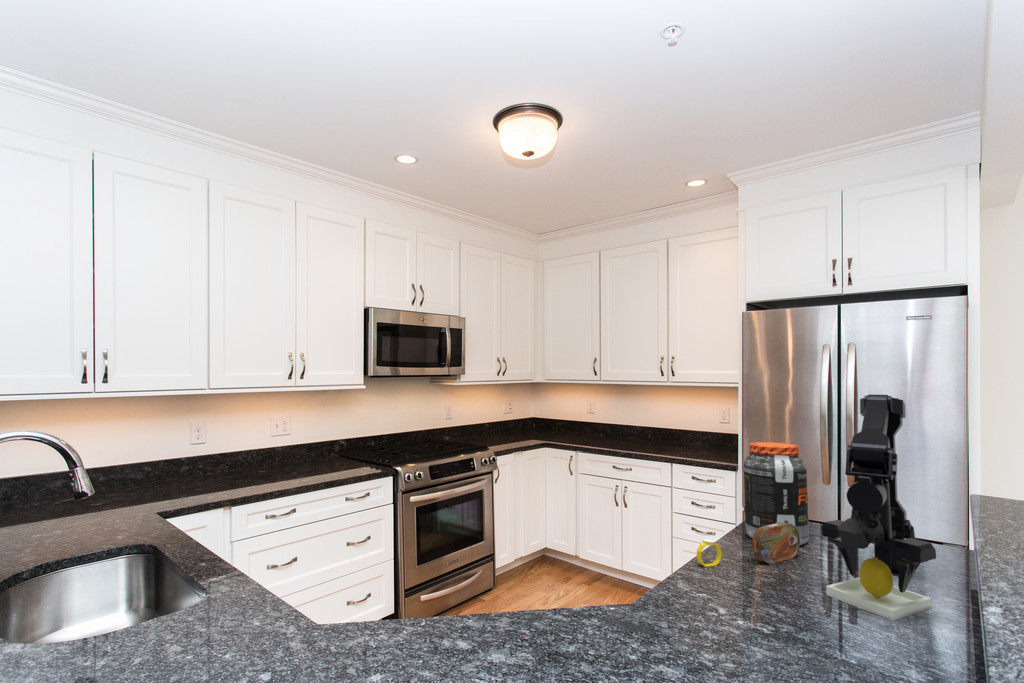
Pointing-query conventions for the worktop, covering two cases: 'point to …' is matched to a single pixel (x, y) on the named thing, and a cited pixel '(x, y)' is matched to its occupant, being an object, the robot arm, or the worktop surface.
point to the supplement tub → (775, 488)
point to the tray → (885, 606)
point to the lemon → (876, 577)
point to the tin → (776, 542)
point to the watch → (700, 548)
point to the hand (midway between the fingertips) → (876, 583)
